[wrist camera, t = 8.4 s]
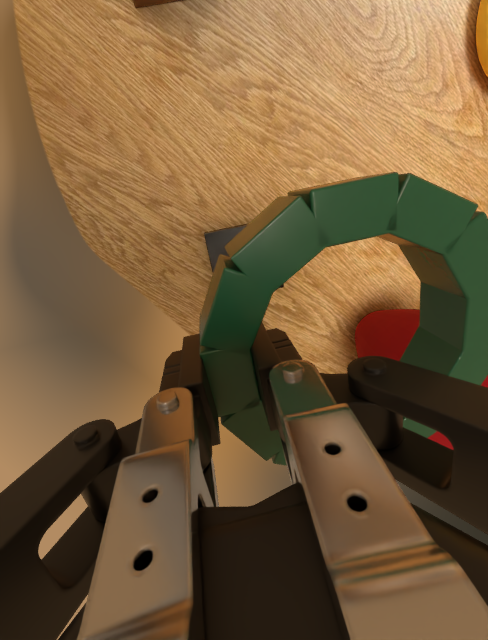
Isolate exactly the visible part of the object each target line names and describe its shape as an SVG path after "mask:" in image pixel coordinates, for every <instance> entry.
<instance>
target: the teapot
mask: <svg viewBox="0 0 488 640" xmlns="http://www.w3.org/2000/svg"><path fill="white" fill-rule="evenodd" d="M476 47H477V54H478V57H479V61H480V64H481V66H482V68H483V71H484V72H485V74H486V76H487V77H488V0H481V2H480V6H479V10H478V16H477V23H476Z"/></svg>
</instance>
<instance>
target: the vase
mask: <svg viewBox="0 0 488 640" xmlns="http://www.w3.org/2000/svg"><path fill="white" fill-rule="evenodd" d="M419 318H420V310H417V309H390V310H379V311H375V312H372V313H369V314H368V315H366V316H365V317H364V318H363V319H362V320H361V321H360V322H359V324H358V325H357V328H356V331H355V344H356V350H357V354H358V358H360V357H365V356H382V357H387V358H390V359H394V360H397V361H399V360H400V359H401V357H402V355H403V353H404V351H405V350H406V348H407V346H408V344H409V342H410V341H411V339H412V337H413V335H414V334H415V332H416V330H417V328H418V326H419ZM481 386H484V387H487V388H488V375H487V377H486V378H485V380H484V381H483V383H482V384H481ZM428 439H430V440H432V441H434V442H437V443H439V444H441V445H443V446H445V447H447V448H450V449H452V450H453V446H452V444H451V442H450V441H449V440H448V439H447V438H446V437H445V436H444V435H443V434H441V433H440V432H438V431H437V432H436V433H434V434H433V435H431V436H430V437H429V438H428Z"/></svg>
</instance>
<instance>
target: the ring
mask: <svg viewBox="0 0 488 640" xmlns="http://www.w3.org/2000/svg"><path fill="white" fill-rule="evenodd" d="M477 207H478V205H477V204H476V203H474V202H472V201H469V200H467V199H465V198H463V197H461V196H459V195H456V194H454V193H452V192H450V191H448V190H446V189H443V188H441V187H439V186H437V185H435V184H433V183H430V182H428V181H426V180H424V179H422V178H420V177H417V176H415V175H413V174H411V173H407V174H398V173H397V172H392V173H385V174H378V175H371V176H364V177H357V178H352V179H347V180H342V181H337V182H332V183H328V184H323V185H318V186H313V187H308V188H303V189H299V190H294V191H290V192H288V196H283V197H278V198H277V199H275V200H274V201H273V202H272V203H271V204H270V205H269V206H268V207H267V208H266V209H265V210H263V211H262V212H261V213H260V214H259V215H258V216H257V217H256V218H255V219H254V220H253V221H251V222H250V223H249V224H248V225H247V226H246V227H245V228H244V229H243V230H242V231H241V232H239V233H238V234H237V235H236V236H235V237H234V238H233V239H232V240H231V241H230V242H229V243H227V244H226V245H225V249H226V251H227V253H228V255H229V257H228V256H225V255H222V254H220V255H219V257H218V260H217V263H216V266H215V270H214V273H213V276H212V279H211V282H210V286H209V289H208V292H207V295H206V298H205V301H204V305H203V308H202V311H201V314H200V336H199V355H200V358H201V359H202V360H203V363H204V367H205V371H206V374H207V378H208V381H209V385H210V389H211V392H212V396H213V399H214V403H215V407H216V410H217V414H218V417H221V424H222V425H223V426H224V427H226V428H227V429H228V430H229V431H230V432H232V433H233V434H234V435H235V436H237V437H238V438H239V439H240V440H241V441H243V442H244V443H245V444H246V445H247V446H249V447H250V448H251V449H252V450H254V451H255V452H256V453H257V454H259V455H260V456H261V457H262V458H263V459H265V460H266V461H267V460H269V459H270V458H271V457H272V461H273V463H275V464H280V465H286V466H287V464H286V460H285V457H284V453H283V449H282V443H281V438H280V434H279V431H278V430H274V431H270V427H269V424H268V421H267V417H266V414H265V411H264V408H263V404H262V400H261V395H260V390H259V385H258V381H257V376H256V371H255V366H254V361H253V356H252V351H251V347H252V346H253V343H254V341H255V338H256V335H257V333H258V330H259V328H260V325H261V322H262V320H263V317H264V315H265V312H266V309H267V307H268V304H269V302H270V299H271V296H272V294H273V292H274V291H275V290H277V289H278V288H279V287H280V286H281V285H282V284H284V283H285V282H286V281H287V280H288V279H289V278H290V277H292V276H293V275H294V274H295V273H296V272H297V271H299V270H300V269H301V268H302V267H303V266H304V265H306V264H307V263H308V262H309V261H310V260H311V259H313V258H314V257H315V256H316V255H317V254H318V253H320V252H321V251H322V250H323V249H324V248H325V247H330V246H335V245H339V244H344V243H348V242H353V241H358V240H362V239H367V238H371V237H376V236H377V237H379V238H382V239H385V240H387V241H390V242H392V243H395V244H397V245H399V247H400V249H401V250H402V252H403V254H404V255H405V257H406V258H407V260H408V262H409V263H410V265H411V266H412V268H413V270H414V271H415V273H416V275H417V276H418V278H419V279H420V281H421V288H420V318H419V326H418V328H417V330H416V332H415V334H414V335H413V337H412V339H411V341H410V342H409V344H408V346H407V348H406V350H405V351H404V353H403V355H402V357H401V359H400V360H399V361H400V362H404V363H407V364H410V365H414V366H417V367H420V368H424V369H427V370H430V371H434V372H437V373H440V374H444V375H447V376H450V377H454V378H457V379H460V380H464V381H467V382H470V383H474V384H477V385H480V386H481V384H482V383H483V381H484V380H485V378H486V377H487V375H488V218H487V216H486V214H485V213H484V212H479V211H476V209H477ZM403 427H404V428H406V429H408V430H410V431H413V432H415V433H417V434H419V435H421V436H424V437H426V438H429V437H430V436H431V435H433V434H434V433H436V432H437V431H436V430H434V429H431V428H429V427H427V426H425V425H422V424H420V423H418V422H415V421H413V420H411V419H408V418H406V417H404V416H403Z"/></svg>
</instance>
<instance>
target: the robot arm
mask: <svg viewBox="0 0 488 640" xmlns="http://www.w3.org/2000/svg"><path fill="white" fill-rule="evenodd" d="M199 336H200V333H199V334H195V335H191V336H187V337H184V339H183V347H182V350H180V351H176V352H172V354H171V355H170V356H169V357H168V358H167V360H166V362H165V367H164V372H163V376H162V381H161V386H160V390H159V393H158V394H156V395H155V396H153V397H152V398H151V399H150V400H149V401H148V402H147V403H146V405H145V406H144V410H143V415H142V418H141V419H139V420H138V421H136V422H133V423H131V424H129V425H127V426H125V427H122V428H120V429H118V430H116V427H115V425H114V423H113V422H112V421H110V420H106V419H101V420H95V421H92V422H89V423H86V424H84V425H82V426H80V427H79V428H77V429H76V430H74V431H73V432H72V433H70V434H69V435H68V436H66V437H65V438H64V439H63V440H62V441H61V442H60V443H58V444H57V445H56V446H55V447H54V448H52V449H51V450H50V451H49V452H48V453H47V454H46V455H44V456H43V457H42V458H41V459H40V460H38V461H37V462H36V463H35V464H34V465H33V466H32V467H30V468H29V469H28V470H27V471H26V472H25V473H23V474H22V475H21V476H20V477H19V478H17V479H16V480H15V481H14V482H13V483H12V484H10V485H9V486H8V487H7V488H6V489H5V490H4V491H2V492H1V493H0V640H56V639H57V638H58V636H59V635H60V633H61V632H62V631H63V629H64V628H65V626H66V625H67V623H68V622H69V620H70V619H71V618H72V616H73V615H74V613H75V612H76V610H77V609H78V607H79V606H80V604H81V603H82V601H83V600H84V599H85V597H86V596H87V595H88V598H87V602H86V604H85V605H84V606H83V607H82V609H81V610H80V612H79V613H78V614H77V615H76V617H75V618H74V619H73V621H72V622H71V623H70V625H69V626H68V627H67V629H66V630H65V631H64V633H63V634H62V635H61V636H60V638H59V639H58V640H488V545H486V544H484V543H482V542H480V541H479V540H477V539H475V538H473V537H471V536H470V535H468V534H466V533H464V532H462V531H461V530H458V529H457V528H455V527H453V526H451V525H450V524H448V523H446V522H444V521H442V520H440V519H439V518H437V517H435V516H433V515H431V514H430V513H428V512H426V511H424V510H422V509H421V508H419V507H417V506H415V505H413V504H412V503H410V502H409V501H408V499H407V498H406V496H405V495H404V493H403V491H402V490H401V488H400V486H399V485H398V483H397V482H396V480H398V481H399V482H401V483H403V484H404V485H406V486H408V487H409V488H411V489H413V490H415V491H416V492H418V493H419V494H421V495H423V496H424V497H426V498H428V499H429V500H431V501H433V502H434V503H436V504H438V505H439V506H441V507H443V508H444V509H446V510H448V511H449V512H451V513H453V514H454V515H456V516H458V517H459V518H461V519H463V520H464V521H466V522H468V523H469V524H471V525H473V526H474V527H476V528H478V529H479V530H481V531H483V532H484V533H486V534H488V388H487V387H484V386H480V385H477V384H474V383H470V382H467V381H464V380H460V379H457V378H454V377H450V376H447V375H444V374H440V373H437V372H434V371H430V370H427V369H424V368H420V367H417V366H414V365H410V364H407V363H404V362H400V361H397V360H394V359H390V358H387V357H382V356H365V357H360V358H357V359H355V360H353V361H352V362H351V363H350V364H349V365H348V368H347V371H348V373H347V374H324V373H319V372H318V370H317V368H316V367H315V365H313V364H312V363H310V362H308V361H304V360H302V358H301V356H300V355H299V353H298V352H297V350H296V349H295V347H294V346H293V344H292V342H291V341H290V340H289V338H288V336H287V335H286V333H285V332H283V331H281V330H279V329H277V328H275V329H271V330H266V329H265V327H264V325H263V323H262V322H261V325H260V328H259V330H258V333H257V335H256V338H255V341H254V343H253V346H252V347H251V351H252V356H253V361H254V366H255V371H256V376H257V381H258V385H259V390H260V395H261V400H262V404H263V408H264V411H265V414H266V417H267V421H268V424H269V427H270V431H274V430H278V431H279V434H280V438H281V443H282V449H283V453H284V457H285V460H286V464H287V468H288V472H289V476H290V480H291V484H292V485H291V486H289V487H287V488H285V489H283V490H282V491H280V492H278V493H276V494H274V495H272V496H271V497H269V498H267V499H265V500H263V501H261V502H259V503H257V504H255V505H253V506H248V507H219V503H218V495H217V486H216V478H215V470H214V464H213V461H212V446H214V445H218V444H220V434H219V422H218V414H217V410H216V407H215V403H214V399H213V396H212V392H211V389H210V385H209V381H208V378H207V374H206V371H205V367H204V363H203V360H202V359H201V358H200V355H199ZM403 416H404V417H406V418H408V419H411V420H413V421H415V422H418V423H420V424H422V425H425V426H427V427H429V428H431V429H434V430H436V431H438V432H440V433H441V434H443V435H444V436H445V437H446V438H447V439H448V440H449V441H450V442H451V444H452V446H453V450H452V449H450V448H447V447H445V446H443V445H441V444H439V443H437V442H434V441H432V440H430V439H428V438H426V437H424V436H421V435H419V434H417V433H415V432H413V431H410V430H408V429H406V428H404V427H403ZM395 479H396V480H395ZM80 494H81V495H82V496H83V498H84V500H85V502H86V503H87V505H88V507H87V508H86V509H85V511H84V512H83V513H82V514H81V515H80V516H79V517H78V519H77V520H76V521H75V522H74V523H73V524H72V525H71V527H70V528H69V529H68V530H67V532H65V534H64V535H63V536H62V537H61V538H60V539H59V541H58V542H57V543H56V544H55V545H54V546H53V547H52V549H51V550H50V551H49V552H48V553H47V554H46V555H45V557H44V558H43V559H42V560H41V559H40V557H39V555H38V547H39V544H40V541H41V539H42V537H43V535H44V534H45V532H46V531H47V529H48V528H49V527H50V526H51V525H52V524H53V523H54V522H55V521H56V520H57V519H58V517H59V516H60V515H61V514H62V513H63V512H64V511H65V510H66V509H67V508H68V507H69V506H70V505H71V504H72V502H73V501H74V500H75V499H76V498H77V497H78V496H79V495H80ZM88 593H89V594H88Z"/></svg>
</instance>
